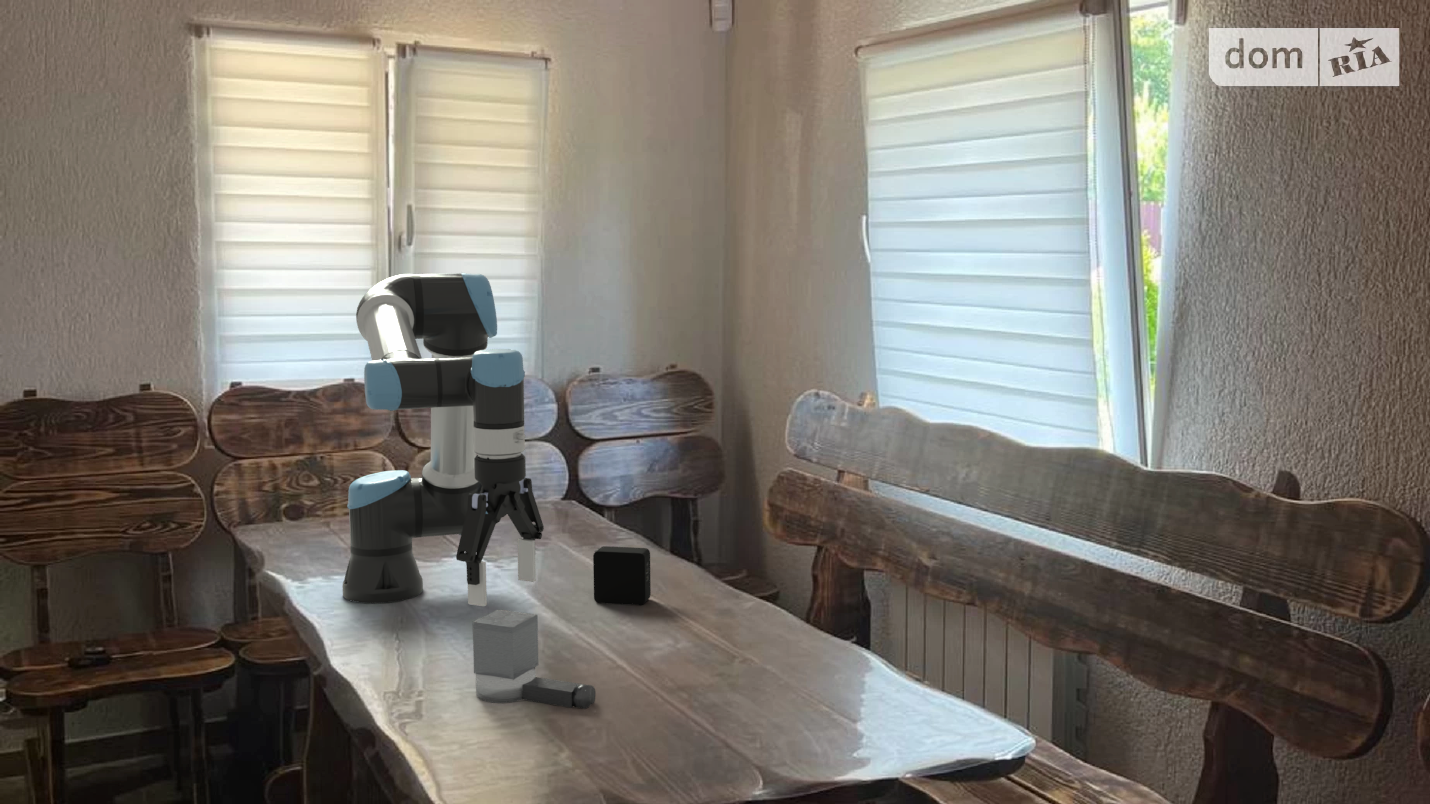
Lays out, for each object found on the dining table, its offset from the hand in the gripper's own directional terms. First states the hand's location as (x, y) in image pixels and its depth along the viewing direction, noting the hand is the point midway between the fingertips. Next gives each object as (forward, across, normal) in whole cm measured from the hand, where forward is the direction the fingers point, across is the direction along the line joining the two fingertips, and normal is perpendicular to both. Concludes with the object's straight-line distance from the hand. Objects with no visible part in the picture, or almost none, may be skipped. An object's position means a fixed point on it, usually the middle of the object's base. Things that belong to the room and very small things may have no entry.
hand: (503, 592), depth 197 cm
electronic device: (+16, +50, +6) cm, 53 cm away
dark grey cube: (+12, 0, 0) cm, 12 cm away
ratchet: (+16, -1, -5) cm, 17 cm away
